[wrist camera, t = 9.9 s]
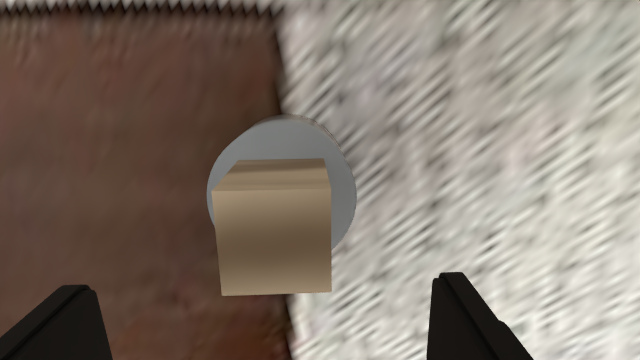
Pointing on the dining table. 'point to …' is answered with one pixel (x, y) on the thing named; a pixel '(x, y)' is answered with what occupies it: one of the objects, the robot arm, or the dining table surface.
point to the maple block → (274, 227)
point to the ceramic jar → (294, 143)
